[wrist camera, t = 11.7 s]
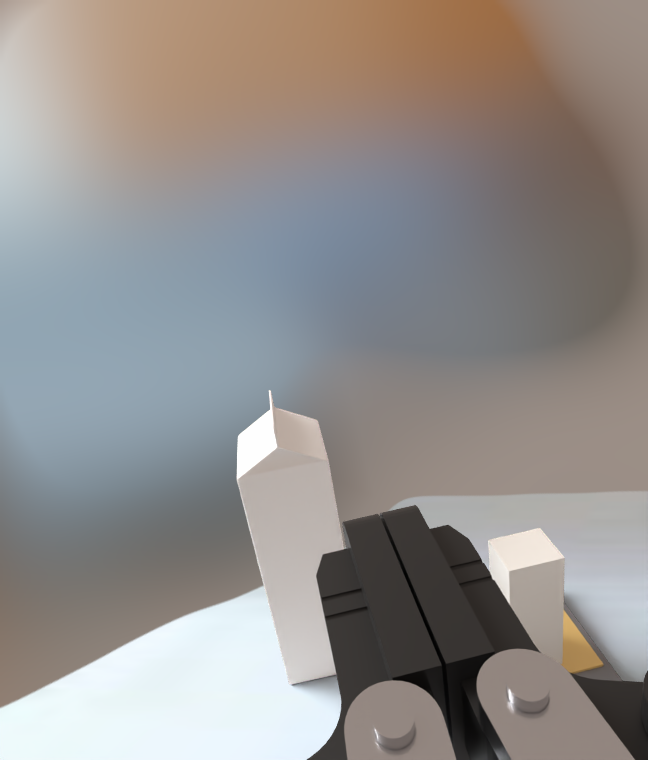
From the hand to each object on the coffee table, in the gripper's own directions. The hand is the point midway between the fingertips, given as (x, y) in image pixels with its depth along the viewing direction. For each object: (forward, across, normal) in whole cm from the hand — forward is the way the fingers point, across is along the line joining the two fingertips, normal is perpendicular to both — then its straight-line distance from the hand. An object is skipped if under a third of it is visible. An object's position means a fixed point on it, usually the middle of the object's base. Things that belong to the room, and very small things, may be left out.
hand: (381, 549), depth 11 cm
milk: (+25, +2, +30) cm, 39 cm away
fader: (+18, -12, +27) cm, 35 cm away
